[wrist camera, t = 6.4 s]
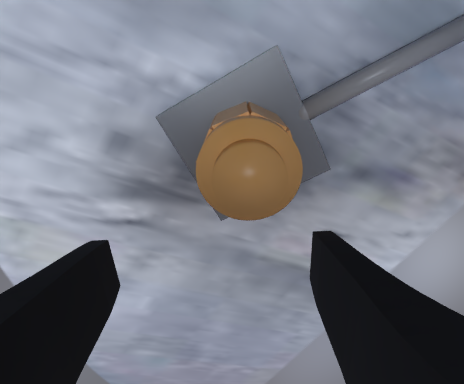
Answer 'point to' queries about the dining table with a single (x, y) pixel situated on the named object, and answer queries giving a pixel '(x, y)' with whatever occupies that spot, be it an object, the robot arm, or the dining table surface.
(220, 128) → the wire nut
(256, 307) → the dining table surface
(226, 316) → the dining table surface
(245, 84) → the gray square paddle
